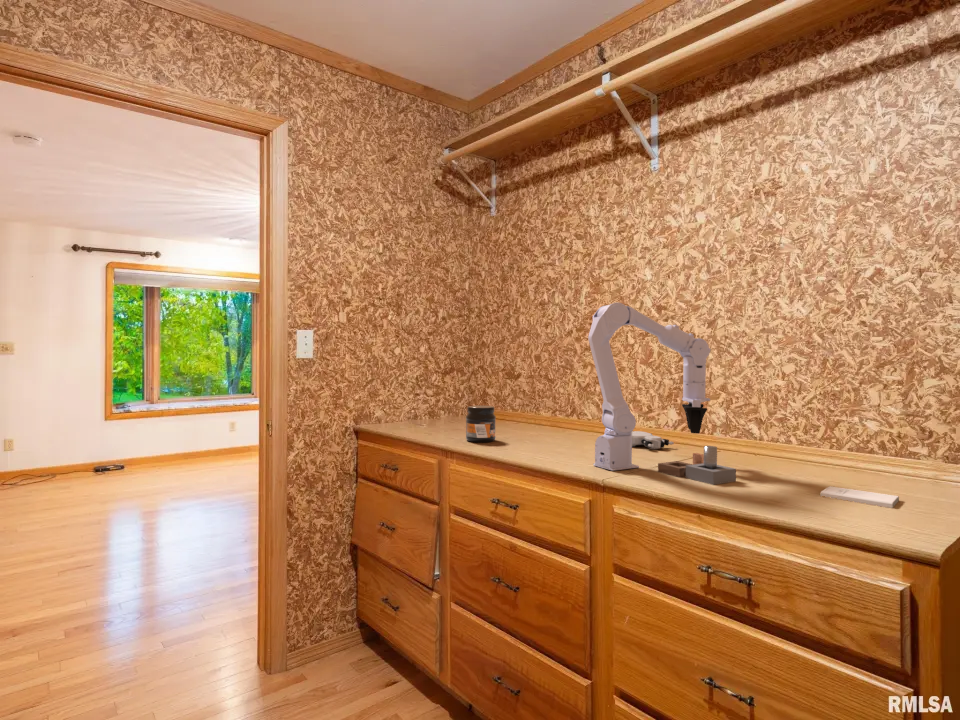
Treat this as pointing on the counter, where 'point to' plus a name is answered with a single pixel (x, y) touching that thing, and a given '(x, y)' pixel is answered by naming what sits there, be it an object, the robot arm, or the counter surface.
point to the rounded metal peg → (710, 457)
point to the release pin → (698, 458)
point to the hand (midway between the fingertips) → (693, 431)
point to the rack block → (711, 474)
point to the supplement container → (480, 424)
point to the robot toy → (648, 440)
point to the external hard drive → (861, 496)
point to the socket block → (673, 468)
